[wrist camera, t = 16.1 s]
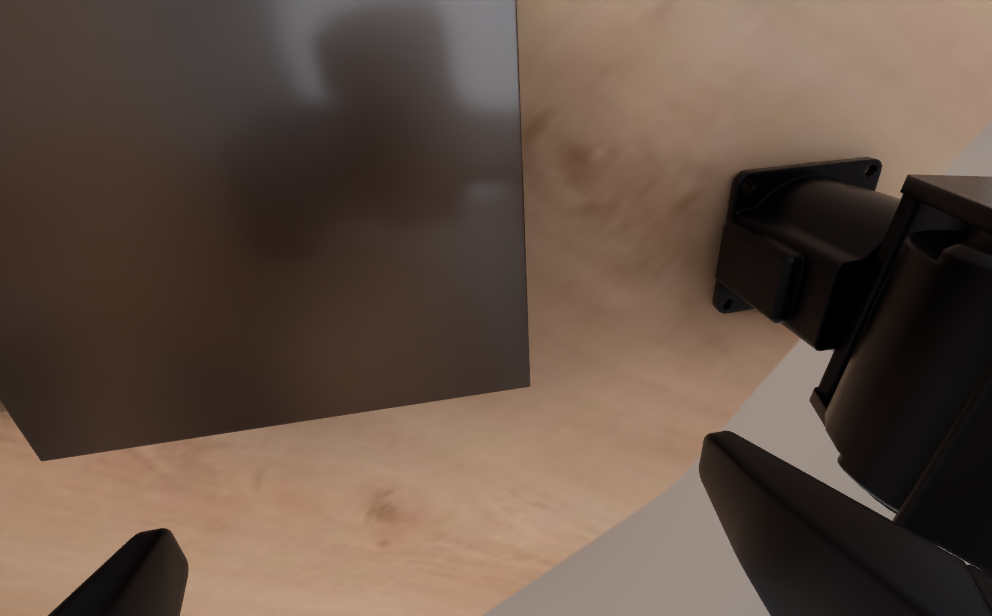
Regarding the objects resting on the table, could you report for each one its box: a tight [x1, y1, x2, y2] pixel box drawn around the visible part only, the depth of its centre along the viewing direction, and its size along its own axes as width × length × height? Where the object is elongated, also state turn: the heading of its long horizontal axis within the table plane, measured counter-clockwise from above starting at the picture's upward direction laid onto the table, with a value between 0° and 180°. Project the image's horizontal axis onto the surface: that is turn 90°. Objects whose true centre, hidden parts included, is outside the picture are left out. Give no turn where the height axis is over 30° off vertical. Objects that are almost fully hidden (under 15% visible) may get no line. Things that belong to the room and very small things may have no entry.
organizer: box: [0, 0, 530, 461], centre depth 15 cm, size 14×12×6 cm
